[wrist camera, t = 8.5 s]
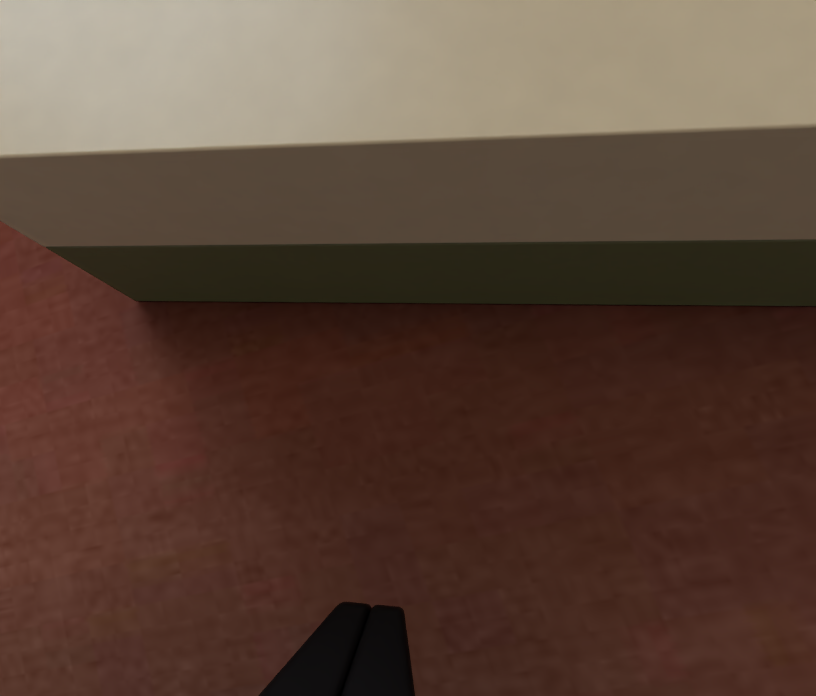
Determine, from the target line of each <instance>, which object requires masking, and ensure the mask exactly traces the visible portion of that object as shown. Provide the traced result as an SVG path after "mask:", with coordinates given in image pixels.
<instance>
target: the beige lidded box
mask: <svg viewBox="0 0 816 696" xmlns="http://www.w3.org/2000/svg"><path fill="white" fill-rule="evenodd" d="M0 221H2V222H3V223H5V224H7V225H8V226H10V227H12V228H13V229H15V230H17V231H19V232H20V233H22V234H24V235H25V236H27V237H29V238H30V239H32V240H34V241H35V242H37V243H39V244H40V245H42V246H44V247H46V248H48V249H49V250H51V251H53V252H54V253H56V254H58V255H59V256H61V257H63V258H64V259H66V260H68V261H69V262H71V263H73V264H74V265H76V266H78V267H79V268H81V269H83V270H84V271H86V272H88V273H90V274H91V275H93V276H95V277H96V278H98V279H100V280H101V281H103V282H105V283H106V284H108V285H110V286H111V287H113V288H115V289H116V290H118V291H120V292H121V293H123V294H125V295H126V296H128V297H130V298H132V299H133V300H135V301H214V302H343V303H472V304H601V305H730V306H816V0H0Z"/></svg>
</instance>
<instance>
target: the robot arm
mask: <svg viewBox="0 0 816 696" xmlns="http://www.w3.org/2000/svg"><path fill="white" fill-rule="evenodd" d="M259 696H415V691H414V684H413V676H412V668H411V661H410V653H409V646H408V638H407V630H406V623H405V615H404V610H403V609H402V608H401V607H395V606H384V605H375V606H374V607H373V608H372V607H371V606H370V605H369V604H364V603H354V602H342V603H340V604H339V605H337V606H336V607H335V609H334V610H333V611H332V612H331V613H330V614H329V615H328V617H327V618H326V619H325V620H324V621H323V622H322V623H321V625H320V626H319V627H318V628H317V629H316V630H315V631H314V633H313V634H312V635H311V636H310V637H309V638H308V639H307V641H306V642H305V643H304V644H303V645H302V646H301V647H300V649H299V650H298V651H297V652H296V653H295V654H294V656H293V657H292V658H291V659H290V660H289V661H288V662H287V664H286V665H285V666H284V667H283V668H282V669H281V670H280V672H279V673H278V674H277V675H276V676H275V677H274V678H273V680H272V681H271V682H270V683H269V684H268V685H267V686H266V688H265V689H264V690H263V691H262V692H261V693H260V695H259Z"/></svg>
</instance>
